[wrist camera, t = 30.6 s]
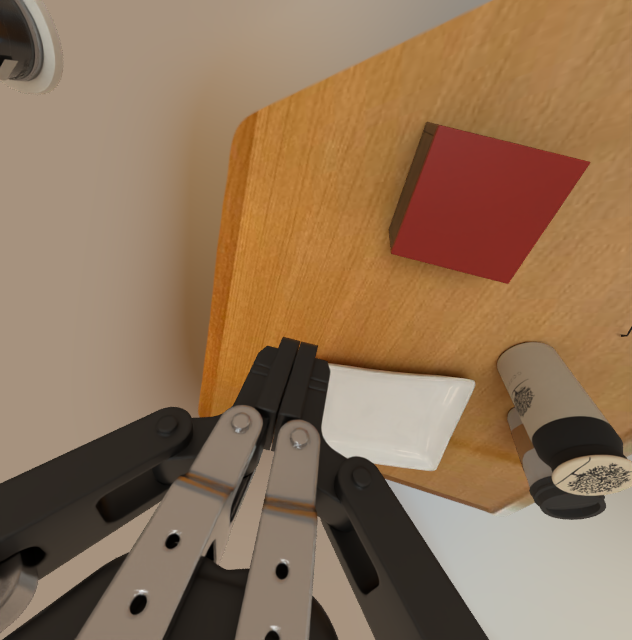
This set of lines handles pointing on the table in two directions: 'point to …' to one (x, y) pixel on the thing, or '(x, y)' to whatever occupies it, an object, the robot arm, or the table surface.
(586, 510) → the coffee cup
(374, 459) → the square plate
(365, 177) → the table surface
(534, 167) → the box lid
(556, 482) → the travel mug
